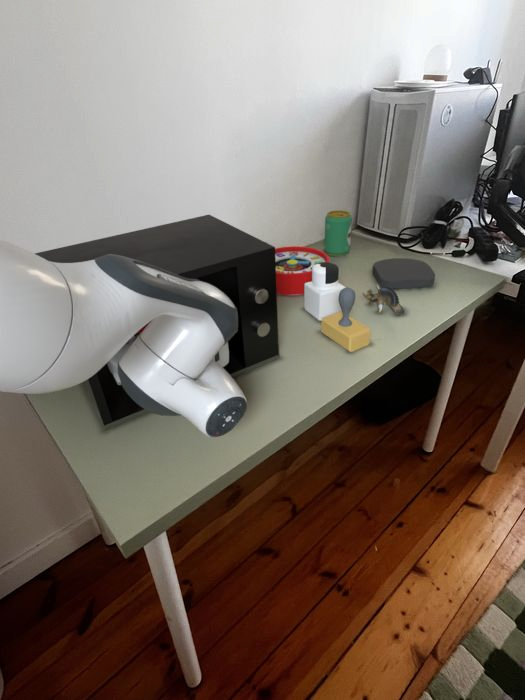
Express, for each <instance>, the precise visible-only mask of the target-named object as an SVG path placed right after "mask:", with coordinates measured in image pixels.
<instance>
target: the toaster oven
mask: <svg viewBox="0 0 525 700" xmlns="http://www.w3.org/2000/svg"><path fill="white" fill-rule="evenodd" d="M275 249H276V247H275V246H273V245H271V244H270V243H267V242H266V241H264V240H262V239H259V238H258V237H256V236H254V235H252V234H250V233H248V232H245V231H243V230H241V229H240V228H237V227H235V226H234V225H231V224H229V223H228V222H225V221H223V220H221V219H219V218H217V217H215V216H213V215H211V214H205V215H201V216H196V217H193V218H191V217H190V218H187V219H183V220H178V221H174V222H169V223H165V224H161V225H156V226H152V227H146V228H143V229H138V230H134V231H133V230H132V231H130V232H124V233H120V234H115V235H111V236H107V237H102V238H98V239H93V240H89V241H84V242H79V243H76V244H71V245H66V246H62V247H57V248H53V249H49V250H44V251H40V252H35V253H34V254H36V255H38V256H40V257H42V258H44V259H46V260H48V261H51V262H56V263H77V262H84V261H90V260H95V259H96V258H98V257H101V256H104V255H107V254H114V255H120V256H124V257H128V258H132V259H135V260H138V261H141V262H144V263H147V264H150V265H152V266H155V267H158V268H161V269H163V270H166V271H169V272H171V273H174V274H177V275H179V276H182V277H185V278H188V279H197V280H199V281H202V282H206V283H209V284H211V285H213V286H215V287H216V288H218V289H219V290H221V291H222V292H223V293H224V294H225V295H226V296H227V297H228V298H229V299H230V300H231V301H232V302H233V304H234V306H235V307H236V308H237V313H238V331H237V332H236V333H235V335H234V336H233V337H232V338H231V339H230V340H229V341H228V347H229V363H228V364H227V365H225V366H224V367H223V368H224V369H225V370H226V371H227V372H228V373H229V375H230V376H231V377H232V378H233V379H234V378H236V377H238V376H240V375H243V374H246V373H248V372H251V371H252V370H255V369H257V368H258V369H259V368H260V367H262V366H264V365H267V364H270V363H273V362H275V361H278V360H279V359H280V351H279V350H280V349H279V346H280V345H279V323H278V321H279V319H278V294H277V289H276V261H275ZM128 342H129V341H128ZM128 342H127V343H126V344H128ZM82 384H83V386H84V389H85V390H86V393H87V394H88V396H89V399H90V400H91V403H92V405H93V407H94V409H95V411H96V413H97V415H98V418H99V419H100V422H101V423H102V426H103V428H104V430H105V431H107V430H110V429H112V428H115V427H117V426H119V425H121V424H124V423H126V422H129V421H131V420H134V419H136V418H139V417H141V416H144V415H146V414H148V413H150V412H149V411H147V410H145V409H144V408H142V407H141V406H139V405H138V404H137V403H136V402H135V401H134V400H133V399H132V398H131V397H130V396H129V395H128V394H127V392H126V391H125V390H124V388H123V387H122V385H118V384H117V383H116V381H115V380H114V378H113V374H112V373H111V372H110V370H109V368H108V365H107V363H106V364H105V365H104V366H103V367H102V368H101V369H100V370H99V371H98V372H97V373H96V374H94V375H93V376H92V377H90V378H89V379H87V380H86V381H84V382H82Z"/></svg>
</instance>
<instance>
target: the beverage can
mask: <svg viewBox="0 0 525 700" xmlns="http://www.w3.org/2000/svg"><path fill="white" fill-rule="evenodd" d="M352 222H353V217H352V215H351V212H350V211H348V210H340V209H337V210H331V211H328V212H327V213H326V216H325V218H324V244H323V246H324V248H323V249H324V251H325V254H327V255H328V256H333V257H342V256H345V255H348V253H349V251H350V250H351V241H352V224H353V223H352Z"/></svg>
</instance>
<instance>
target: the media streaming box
mask: <svg viewBox="0 0 525 700" xmlns="http://www.w3.org/2000/svg"><path fill="white" fill-rule="evenodd" d="M372 273H373V275H374V278H375V279H376V281H377V283H378V284H379V285H380V286H381V287H383V286H385V287H389V288H392V289H416V288H427V287H431V286H433V285H434V284H435V280H436V274H435V271H434V270H433V268H432V267H431V266H430V265H429V264H428V263H427V262H425V261H423V260H419V259H415V258H409V257H407V258H406V257H397V258H396V257H394V258H386V259H381V260H378V261H376V262H374V263H373V266H372Z"/></svg>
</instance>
